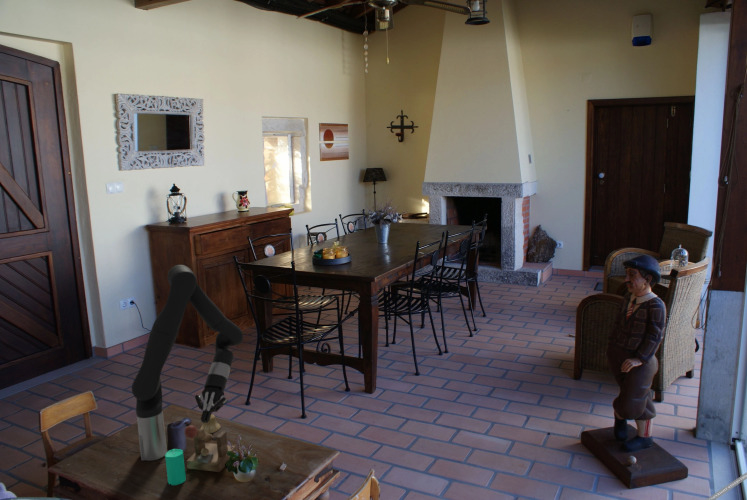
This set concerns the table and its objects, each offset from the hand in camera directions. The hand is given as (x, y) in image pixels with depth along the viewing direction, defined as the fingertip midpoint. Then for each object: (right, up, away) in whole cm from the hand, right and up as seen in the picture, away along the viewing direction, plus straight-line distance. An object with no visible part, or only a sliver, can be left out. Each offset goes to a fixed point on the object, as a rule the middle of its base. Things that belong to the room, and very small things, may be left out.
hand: (204, 422), depth 210 cm
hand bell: (-6, -12, +31) cm, 34 cm away
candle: (-8, -19, -6) cm, 21 cm away
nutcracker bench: (+1, -16, +6) cm, 17 cm away
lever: (+1, -7, +5) cm, 9 cm away
